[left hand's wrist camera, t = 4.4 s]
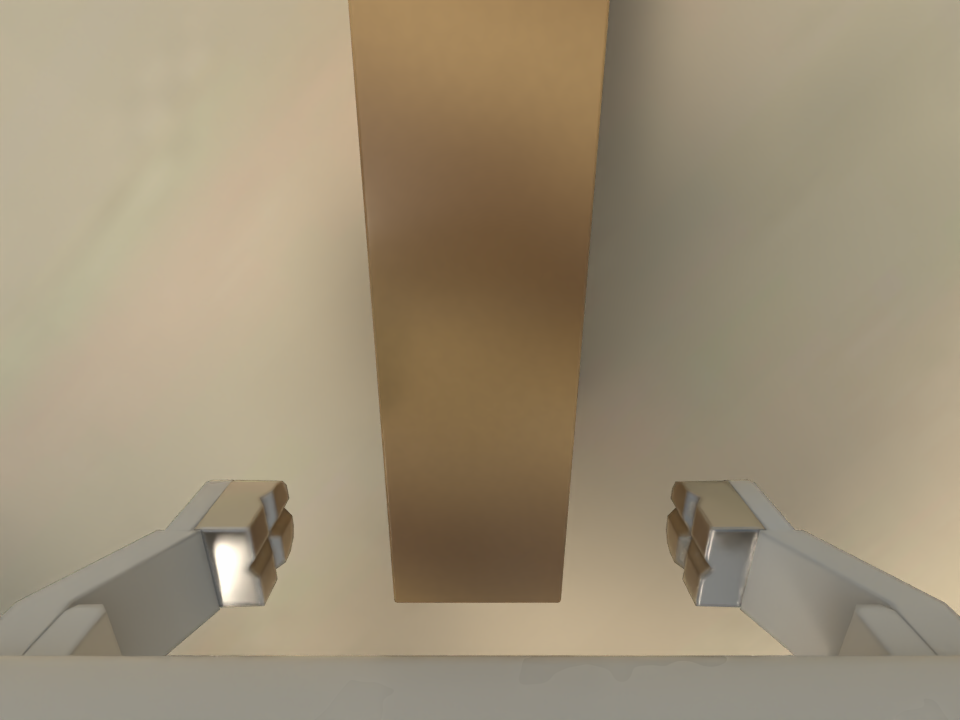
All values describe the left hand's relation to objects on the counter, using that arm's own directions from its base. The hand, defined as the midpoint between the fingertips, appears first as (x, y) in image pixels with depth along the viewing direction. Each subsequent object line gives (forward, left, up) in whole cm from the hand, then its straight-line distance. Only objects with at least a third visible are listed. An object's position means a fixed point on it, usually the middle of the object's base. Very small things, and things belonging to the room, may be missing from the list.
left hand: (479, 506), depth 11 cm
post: (+33, -14, -10) cm, 37 cm away
